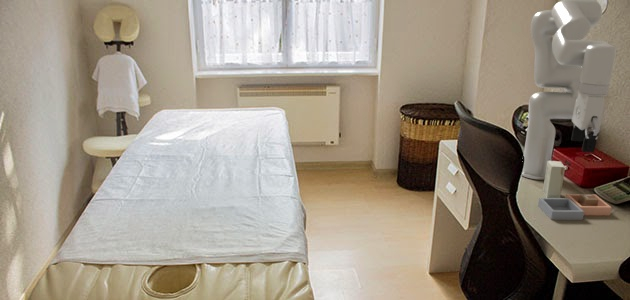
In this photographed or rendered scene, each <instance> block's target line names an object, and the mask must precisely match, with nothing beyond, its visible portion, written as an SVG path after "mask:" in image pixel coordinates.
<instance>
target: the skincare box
mask: <svg viewBox="0 0 630 300" xmlns="http://www.w3.org/2000/svg"><path fill="white" fill-rule="evenodd" d="M565 170H566V166H565V165H564V164H563V162H562V161H557V160H551V161H547V168H546V174H545V180H543V181H544V182H543V188H542V192H543V195H544V196H545V197H544V198H561V196H562V187H563V183H564V176H565Z"/></svg>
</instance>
